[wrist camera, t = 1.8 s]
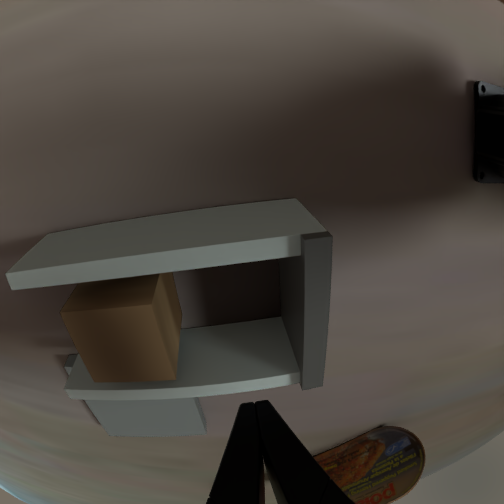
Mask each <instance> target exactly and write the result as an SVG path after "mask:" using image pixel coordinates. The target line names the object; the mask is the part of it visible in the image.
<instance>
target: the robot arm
mask: <svg viewBox="0 0 504 504" xmlns="http://www.w3.org/2000/svg"><path fill="white" fill-rule="evenodd" d="M481 89H482V90H481ZM474 95H475V152H474V169H473V177H474V180H475V181H477V182H479V183H504V88H501V87H499V86H496V85H493V84H490V83H487V82H483V81H476V82H475V84H474ZM263 459H264V462H263ZM264 464H265V467H266V471H267V474H268V477H269V480H270V483H271V486H272V489H273V492H274V494H275V497H276V500H277V503H278V504H356V503H354V502H353V501H352V500H351V499H350V498H349V497H348V496H347V495H346V494H345V493H344V492H343V491H342V490H341V489H340V488H339V487H338V485H337V484H336V483H335V482H334V481H333V480H332V479H330V476H329V475H328V474H327V473H326V472H325V470H324V469H323V468H322V467H321V466H320V465H319V463H318V462H317V461H316V460H315V459H314V457H313V456H312V455H311V454H310V452H309V451H308V450H307V449H306V448H305V446H304V445H303V444H302V443H301V441H300V440H299V439H298V438H297V436H296V435H295V434H294V433H293V431H292V430H291V429H290V428H289V426H288V425H287V424H286V422H285V421H284V420H283V419H282V417H281V416H280V415H279V413H278V412H277V411H276V410H275V408H274V407H273V406H272V404H271V403H270V402H269V401H268V400H262V401H256V402H255V404H254V403H253V402H248V403H242V404H241V405H240V407H239V410H238V413H237V416H236V419H235V422H234V425H233V428H232V431H231V434H230V437H229V440H228V443H227V446H226V449H225V452H224V454H223V457H222V460H221V463H220V466H219V469H218V472H217V475H216V478H215V480H214V483H213V486H212V489H211V492H210V494H209V497H210V498H208V500H207V502H206V504H265V485H264Z"/></svg>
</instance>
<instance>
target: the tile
mask: <svg viewBox="0 0 504 504" xmlns="http://www.w3.org/2000/svg"><path fill="white" fill-rule="evenodd" d="M76 358H77V355H69V357H68V359H67V361H66V363H65V366H64V368H65V370H66V371H67V373H68V375H70V372H71V370H72V367H73V365H74V363H75V360H76ZM85 402H86V403H87V405H88V406H89V408H90V409H91V411H92V412H93V414H94V415H95V417H96V418H97V420H98V421H99V422H100V424H101V425H102V426H103V428H104V429H105V431H106V432H107V433H108V435H109V436H132V437H162V436H189V435H204V434H207V428H206V420H205V417H204V414H203V411H202V408H201V405H200V402H199V400H198V397H190V398H176V399H157V400H85Z"/></svg>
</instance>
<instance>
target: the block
mask: <svg viewBox="0 0 504 504" xmlns="http://www.w3.org/2000/svg"><path fill="white" fill-rule="evenodd" d="M60 314H61V317H62V319H63V321H64V323H65V326H66V328H67V330H68V332H69V334H70V336H71V338H72V341H73V343H74V345H75V347H76V349H77V351H78V353H79V355H80V357H81V358H82V360H83V362H84V364H85V366H86V368H87V370H88V372H89V373H90V375H91V377H92V379H93V381H94V382H95V383H108V382H146V381H165V380H176V374H177V362H178V350H179V340H180V330H181V320H182V312H181V307H180V303H179V299H178V295H177V291H176V286H175V282H174V278H173V273H172V272H166V273H158V274H149V275H141V276H133V277H124V278H116V279H108V280H99V281H90V282H82V283H78V285H77V286H76V288H75V289H74V291H73V292H72V294H71V295H70V297H69V298H68V300H67V302H66V303H65V305H64V306H63V308H62V309H61V311H60Z"/></svg>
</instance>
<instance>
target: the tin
mask: <svg viewBox="0 0 504 504" xmlns="http://www.w3.org/2000/svg"><path fill="white" fill-rule="evenodd" d="M314 459H315V460H316V461H317V462H318V463H319V465H320V466H321V467H322V468H323V469H324V470H325V472H326V473H327V474H328V475H329V476H330V479H332V480H333V481H334V482H335V483H336V484H337V485H338V487H339V488H340V489H341V490H342V491H343V492H344V493H345V494H346V495H347V496H348V497H349V498H350V499H351V500H352V501H353V502H354V503H356V504H390V503H392V502H394V501H396V500H398V499H400V498H402V497H404V496H405V495H406V494H407V493H409V492H410V491H411V490H412V489H413V488H414V487H415V485H416V484H417V482H418V481H419V479H420V477H421V475H422V473H423V470H424V466H425V450H424V447H423V445H422V443H421V441H420V440H419V438H418V437H417V436H416V435H415V434H413V433H412V432H410V431H408V430H406V429H404V428H401V427H395V426H386V427H380V428H376V429H373V430H371V431H369V432H367V433H365V434H363V435H361V436H359V437H357V438H354V439H352V440H350V441H348V442H346V443H344V444H342V445H340V446H337V447H335V448H333V449H331V450H328V451H326V452H324V453H321V454H319V455H316V456H314Z"/></svg>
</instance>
